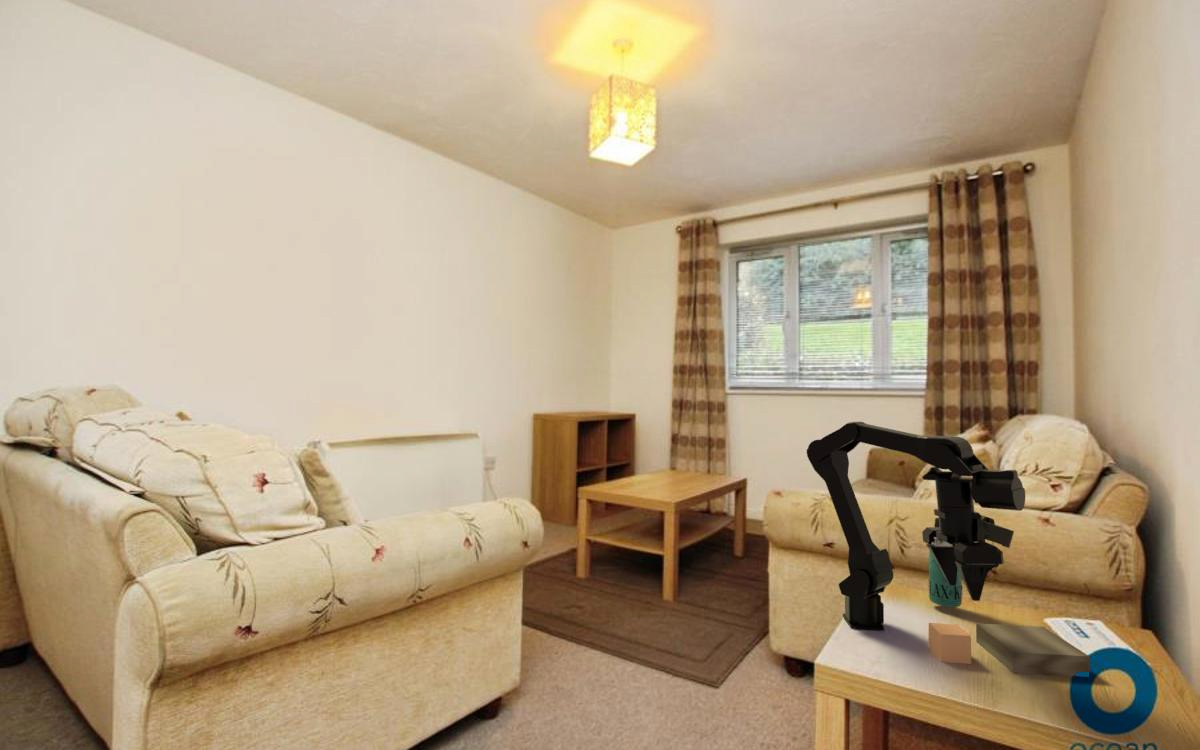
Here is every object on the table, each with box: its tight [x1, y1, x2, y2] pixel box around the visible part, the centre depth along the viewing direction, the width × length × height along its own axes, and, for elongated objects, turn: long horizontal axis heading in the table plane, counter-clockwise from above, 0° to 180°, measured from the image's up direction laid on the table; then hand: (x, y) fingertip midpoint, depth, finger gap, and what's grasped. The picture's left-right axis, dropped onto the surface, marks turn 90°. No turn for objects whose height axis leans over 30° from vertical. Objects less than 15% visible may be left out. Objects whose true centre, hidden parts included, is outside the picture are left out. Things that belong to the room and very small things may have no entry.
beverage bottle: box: [927, 517, 963, 608], centre depth 126 cm, size 6×7×20 cm
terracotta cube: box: [928, 622, 972, 665], centre depth 103 cm, size 5×5×5 cm
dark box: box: [975, 622, 1091, 678], centre depth 102 cm, size 12×12×4 cm
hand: (963, 592), depth 102 cm, fingers open, 9 cm apart
